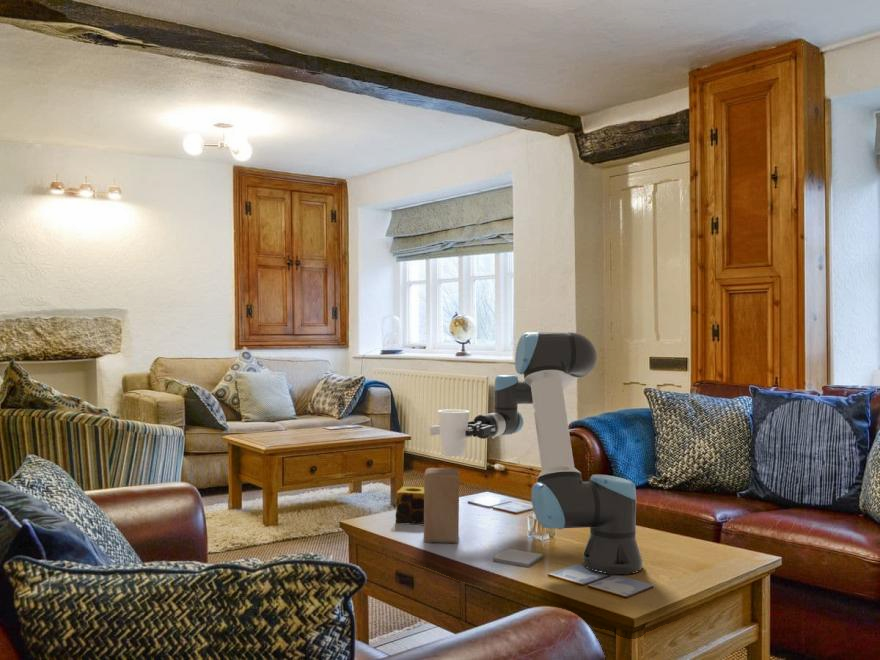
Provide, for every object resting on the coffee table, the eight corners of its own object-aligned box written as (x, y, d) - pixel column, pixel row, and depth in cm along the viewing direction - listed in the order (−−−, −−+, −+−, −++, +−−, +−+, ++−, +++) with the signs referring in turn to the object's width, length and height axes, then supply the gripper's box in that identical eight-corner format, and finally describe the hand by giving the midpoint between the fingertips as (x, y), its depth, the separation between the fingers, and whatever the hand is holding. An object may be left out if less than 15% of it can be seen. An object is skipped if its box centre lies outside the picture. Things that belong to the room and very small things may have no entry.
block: (458, 543, 221) (459, 474, 221) (423, 543, 221) (424, 473, 221) (458, 534, 231) (459, 467, 231) (424, 534, 231) (425, 467, 231)
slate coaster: (542, 557, 209) (542, 554, 209) (528, 567, 200) (528, 563, 200) (508, 551, 214) (508, 548, 214) (493, 561, 205) (493, 558, 205)
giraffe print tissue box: (426, 525, 241) (426, 493, 241) (394, 523, 243) (395, 492, 243) (432, 517, 251) (432, 487, 251) (402, 516, 253) (402, 485, 253)
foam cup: (435, 456, 227) (435, 412, 227) (439, 451, 236) (439, 409, 236) (467, 457, 226) (468, 413, 226) (470, 452, 235) (470, 409, 235)
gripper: (517, 441, 238) (473, 449, 220) (460, 434, 252) (415, 441, 234) (517, 416, 238) (474, 423, 220) (460, 411, 252) (415, 416, 234)
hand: (443, 432), depth 227 cm, fingers closed on foam cup, 9 cm apart
